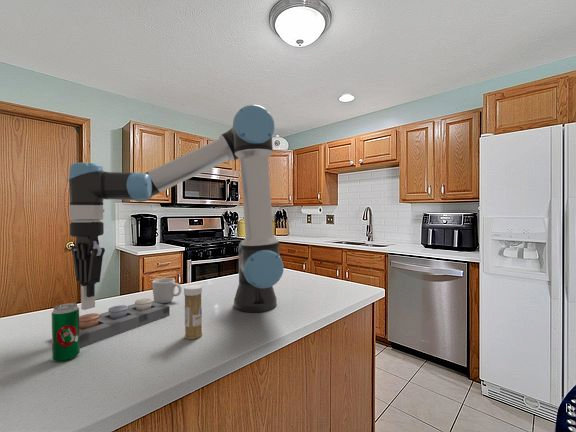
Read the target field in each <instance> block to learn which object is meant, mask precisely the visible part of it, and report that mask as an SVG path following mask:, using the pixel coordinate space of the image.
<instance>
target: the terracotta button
mask: <svg viewBox="0 0 576 432" xmlns="http://www.w3.org/2000/svg"><path fill="white" fill-rule="evenodd" d="M100 314H101V313H96V312H95V313H85V314H82V315H79V329H81V330H85V329H88V328H91V327H94V326H97V325H98V318H99V317H100Z"/></svg>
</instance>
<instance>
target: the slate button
mask: <svg viewBox="0 0 576 432" xmlns="http://www.w3.org/2000/svg"><path fill="white" fill-rule="evenodd" d="M128 306H129V305H126V304H125V305H124V304H121V305H115V306H111V307H109V308H108V309H107V312H108V311H109V312H110V319H113V320H116V319H119V318H122V317H125V316H127V309H128Z"/></svg>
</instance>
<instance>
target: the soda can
mask: <svg viewBox="0 0 576 432" xmlns="http://www.w3.org/2000/svg"><path fill="white" fill-rule="evenodd" d="M79 316H80V307H79V306H78V303H74V302H70V303H62V304H59V305H56V306H54V307H53V310H52V312H51V348H52V349H51V350H52V351H51V354H52V355H51V356H52V357H51V358H52V360H53V361H54V362H56V363H64V362H67V361H71V360H74V359H75V358H76V357H78V356H79V355H80V353H81V348H80V330H79Z"/></svg>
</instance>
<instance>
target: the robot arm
mask: <svg viewBox="0 0 576 432" xmlns="http://www.w3.org/2000/svg"><path fill="white" fill-rule="evenodd" d="M232 123H233V124H232V127H230V129H228V130H227V131H225V132H224V133H222V134H220V135H219V138H218V139H216V140H214V141H211V142H209V143H207V144H205V145H203V146H200V147H198V148H196V149H194V150H192V151H190V152H187V153H185V154H183V155H181V156H179V157H177V158H175V159H172V160H170V161H167V162H166V163H163V164H161V165H159V166H158V167H155V168H153V169H150V170H148V171H146V172H143V173H142V172H138V171H134V172H119V171H117V172H115V171H114V172H113V171H104V167H103V166H102V165H101V164H100V163H99V164H98V163H94V162H93V163H90V162H74V163H72V164H71V165H70V166H69V170H68V171H69V174H68V175H69V176H68V192H69V193H68V194H69V205H68V207H69V209H68V210H69V212H68V213H69V214H68V216H69V217H68V219H69V220H70V221H72V222H70V223H69V235H70V237H76V240H75V245H72V246H70V249H71V253H72V257H73V259H72V260H73V267H74V272H75V280H76V282H79V283H78V284H80V308H81V310H83V311H86V310H90V309H94V308H96V291H95V290H96V286H95V285H96V284H98V283H100V282H101V276H102V274H101V273H102V266H103V259H104V258H103V257H104V254H105V252H106V250H105V247H100V241H99V236H103V235H104V229H105V227H104V222H103V221H102V220H104V212H105V209H104V200H123V201H125V200H126V201H134V202H139V203H142V202H146V201H148V200H150V199H152V197H153V196H156V195H158V194H159V193H161V192H164V191H166V190H168V189H170V188H173V187H175V186H176V185H179V184H180V183H182V182H185V181H188V180H189V179H191V178H193V177H195V176H197V175H200V174H202V173H204V172H206V171H208V170H210V169H213V168H215V167H217V166H218V165H221V164H223V163H225V162H228V161H232V162H234V161H236V160H239V161H240V174H241V191H242V204H243V216H244V217H243V218H244V219H243V220H244V233H245V238H244V239H243V241H240V242H239V244H238V249H237V251H238V286H237V289H236V292H235V297H234V298H233V307H234V309H236V310H238V311H240V312H246V313H258V312H259V313H260V312H266V311H270V310H272V309H275V308H276V307H277V305H278V304H277V303H278V302H277V296H276V293H275V290H274V289H275V288H274V286H275V285H276V284H278V282H279V281H280V279H282V277H283V274H284V266H285V265H284V263H283V260H282V257H281V256H280V243H279V240H278V239H277V238H276V237H275V235H274V227H273V225H274V224H273V209H272V197H271V194H272V193H271V178H270V165H269V163H270V162H269V158H270V157H271V156H272V155H273V153H274V149H273V135H274V131H275V121H274V118H273V116H272V114H271V112H269V111H268V110H267V109H266V108H265V107H263V106H261V105H258V104H249V105H245V106H243V107H241V108H240V109H239V110H238V111H237V112H236V113H235V115H234V118H233V121H232Z"/></svg>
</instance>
